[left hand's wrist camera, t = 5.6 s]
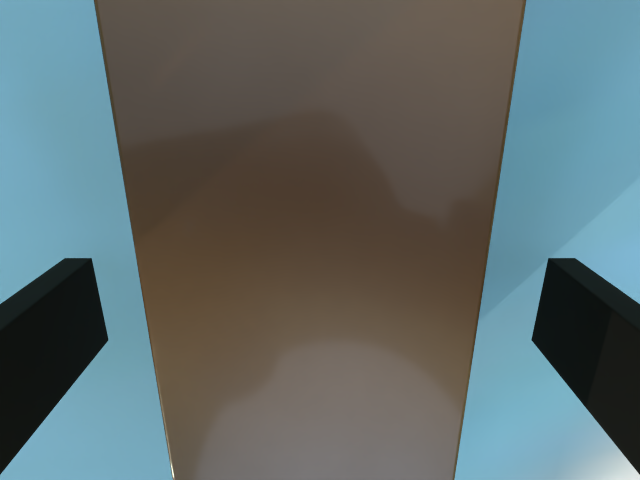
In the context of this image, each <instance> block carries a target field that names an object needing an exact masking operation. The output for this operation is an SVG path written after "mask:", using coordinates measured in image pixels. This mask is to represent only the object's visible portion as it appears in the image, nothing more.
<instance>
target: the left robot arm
mask: <svg viewBox="0 0 640 480" xmlns="http://www.w3.org/2000/svg"><path fill="white" fill-rule="evenodd" d="M107 341H108V336H107V331H106V326H105V321H104V316H103V311H102V306H101V302H100V297H99V292H98V287H97V282H96V277H95V272H94V268H93V263H92V258H65V259H63V260H62V261H60V262H59V263H58V264H56V265H55V266H53V267H52V268H51V269H49V270H48V271H46V272H45V273H44V274H42V275H41V276H39V277H38V278H37V279H35V280H34V281H32V282H31V283H29V284H28V285H27V286H25V287H24V288H22V289H21V290H20V291H18V292H17V293H15V294H14V295H13V296H11V297H10V298H8V299H7V300H6V301H4V302H3V303H1V304H0V474H1V473H2V472H3V470H4V469H5V468H6V467H7V466H8V464H9V463H10V462H11V461H12V459H13V458H14V457H15V456H16V454H17V453H18V452H19V451H20V449H21V448H22V447H23V446H24V444H25V443H26V442H27V441H28V439H29V438H30V437H31V436H32V434H33V433H34V432H35V431H36V429H37V428H38V427H39V426H40V424H41V423H42V422H43V421H44V420H45V418H46V417H47V416H48V415H49V413H50V412H51V411H52V410H53V408H54V407H55V406H56V405H57V403H58V402H59V401H60V400H61V398H62V397H63V396H64V395H65V393H66V392H67V391H68V390H69V388H70V387H71V386H72V385H73V383H74V382H75V381H76V380H77V378H78V377H79V376H80V375H81V374H82V372H83V371H84V370H85V369H86V367H87V366H88V365H89V364H90V362H91V361H92V360H93V359H94V357H95V356H96V355H97V354H98V352H99V351H100V350H101V349H102V347H103V346H104V345H105V344H106V342H107ZM532 341H533V342H534V344H535V345H536V346H537V347H538V349H539V350H540V351H541V352H542V354H543V355H544V356H545V357H546V359H547V360H548V361H549V362H550V364H551V365H552V366H553V367H554V369H555V370H556V371H557V372H558V374H559V375H560V376H561V377H562V378H563V380H564V381H565V382H566V383H567V385H568V386H569V387H570V388H571V390H572V391H573V392H574V393H575V395H576V396H577V397H578V398H579V400H580V401H581V402H582V403H583V405H584V406H585V407H586V408H587V410H588V411H589V412H590V413H591V415H592V416H593V417H594V418H595V420H596V421H597V422H598V423H599V424H600V426H601V427H602V428H603V429H604V431H605V432H606V433H607V434H608V436H609V437H610V438H611V439H612V441H613V442H614V443H615V444H616V446H617V447H618V448H619V449H620V451H621V452H622V453H623V454H624V456H625V457H626V458H627V459H628V461H629V462H630V463H631V464H632V466H633V467H634V468H635V469H636V471H637V472H638V473H639V474H640V304H639V303H637V302H636V301H634V300H633V299H632V298H630V297H629V296H627V295H626V294H625V293H623V292H622V291H620V290H619V289H618V288H616V287H615V286H613V285H612V284H611V283H609V282H608V281H606V280H605V279H603V278H602V277H601V276H599V275H598V274H596V273H595V272H594V271H592V270H591V269H589V268H588V267H587V266H585V265H584V264H582V263H581V262H580V261H578V260H577V259H575V258H548V263H547V268H546V272H545V277H544V282H543V287H542V292H541V297H540V302H539V306H538V311H537V316H536V321H535V326H534V331H533V336H532Z"/></svg>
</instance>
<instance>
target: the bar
mask: <svg viewBox="0 0 640 480" xmlns="http://www.w3.org/2000/svg"><path fill="white" fill-rule="evenodd" d="M94 4H95V10H96V16H97V22H98V28H99V34H100V40H101V46H102V52H103V59H104V65H105V71H106V77H107V83H108V89H109V95H110V101H111V107H112V113H113V119H114V125H115V131H116V137H117V144H118V150H119V156H120V162H121V168H122V174H123V180H124V186H125V192H126V198H127V204H128V210H129V216H130V222H131V229H132V235H133V241H134V247H135V253H136V259H137V265H138V271H139V277H140V283H141V289H142V295H143V301H144V308H145V314H146V320H147V326H148V332H149V338H150V344H151V350H152V356H153V362H154V368H155V374H156V380H157V386H158V393H159V399H160V405H161V411H162V417H163V423H164V429H165V435H166V441H167V447H168V453H169V459H170V465H171V471H172V478H173V480H454V478H455V471H456V464H457V458H458V451H459V444H460V438H461V431H462V424H463V418H464V411H465V404H466V398H467V391H468V384H469V378H470V371H471V364H472V358H473V351H474V345H475V338H476V331H477V325H478V318H479V311H480V305H481V298H482V291H483V285H484V278H485V271H486V265H487V258H488V251H489V245H490V238H491V231H492V225H493V218H494V211H495V205H496V198H497V191H498V185H499V178H500V171H501V165H502V158H503V151H504V145H505V138H506V131H507V125H508V118H509V111H510V105H511V98H512V91H513V85H514V78H515V71H516V65H517V58H518V51H519V45H520V38H521V31H522V25H523V18H524V11H525V5H526V0H94Z"/></svg>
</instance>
